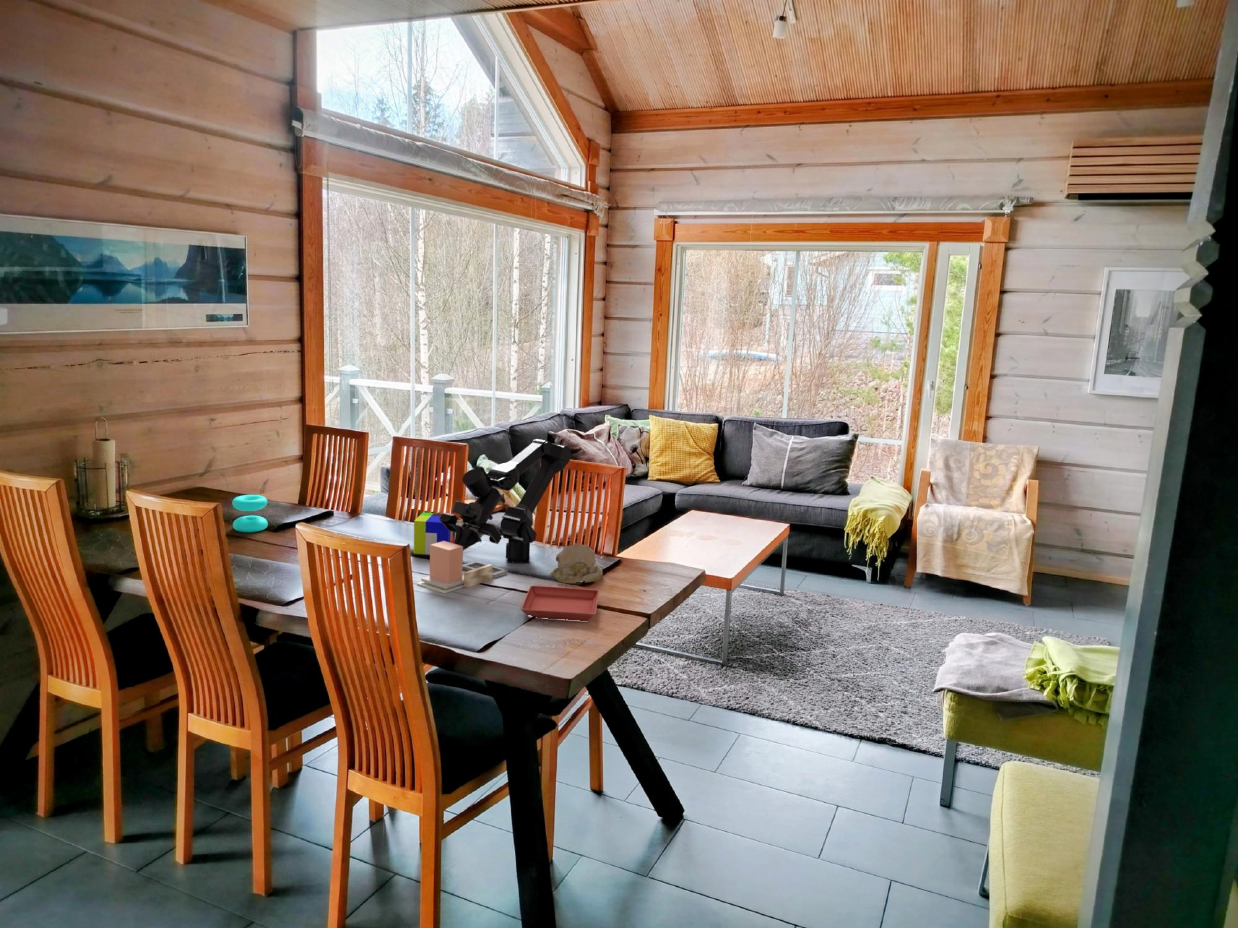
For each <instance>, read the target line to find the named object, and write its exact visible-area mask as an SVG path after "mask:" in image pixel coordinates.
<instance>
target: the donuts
mask: <svg viewBox="0 0 1238 928" xmlns="http://www.w3.org/2000/svg"><path fill="white" fill-rule="evenodd" d="M231 504H232V506H233V508H235V510H239V511H241V512H242V511H243V512H256V511H260V510H261V509H265V508H266V506H267V505H268V499H267V498H266V497H265V496H264V495H259V494H258V495H256V494H245V495H240V496H236V497H234V498H233V500H232V503H231ZM268 525H269V523H268V520H267V519H266V518H265V517H262V516H259V515H244V516H240V517H238V518H236V519H235V520H234V521H233V522H232V527H233V529H234V530H235V531H237V532H239V533H241V532H242V533H256V532H261V531H265V529H266V528H268Z"/></svg>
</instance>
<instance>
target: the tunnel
mask: <svg viewBox="0 0 1238 928" xmlns="http://www.w3.org/2000/svg"><path fill="white" fill-rule="evenodd" d="M493 566H494V565H493V564H491V563H490V564H488V565H486V566H483V567H480V568H477V569H474V570H470V571H465V572H464V573H463V576H464V583H463V585H464V587H463V588H466V589H468V588H471V587H473V586H476V585H479V584H482V583H484V582H488V581H491V580H493V579H492V575H493Z"/></svg>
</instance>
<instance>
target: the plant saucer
mask: <svg viewBox="0 0 1238 928" xmlns="http://www.w3.org/2000/svg"><path fill="white" fill-rule="evenodd" d="M599 595H600V590H599V589H590V588H589V589H587V588H572V587H560V586H545V585H544V586H543V585H530V586H529V588H528V591H527V594H526V596H525V598H524V600H523V603H522V605H521V607H520V610H521V611H522V612H523V613H524V615H525V616H527V615H531V616H535V617H537V618H548V619H565V620H566V619H568V620H580V621H588V622H590V620H592V618H593V617H594V616H595V615H596V613H597V607H598V602H599V601H598V600H599Z"/></svg>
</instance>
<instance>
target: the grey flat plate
mask: <svg viewBox="0 0 1238 928" xmlns="http://www.w3.org/2000/svg"><path fill="white" fill-rule="evenodd" d="M486 565H489V564H487V563H484V562H480V561H478V560H474V561H471V562H468V563H465V564H464V563H463V570H462V571H465V572H467V571H470V570H474V569H477V568H480V567H483V566H486ZM507 574H508V569H505V568H502V567H498V566H494V565H493V575H492V579H491V580H493V579H496V578H499V577H501V576H504V575H507Z"/></svg>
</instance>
